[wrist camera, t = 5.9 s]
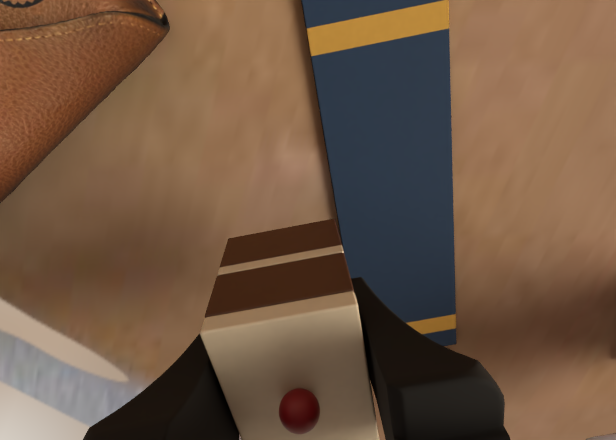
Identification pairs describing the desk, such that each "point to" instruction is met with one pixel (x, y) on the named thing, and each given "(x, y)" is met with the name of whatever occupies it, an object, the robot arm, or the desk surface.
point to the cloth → (390, 149)
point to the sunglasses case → (63, 69)
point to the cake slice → (290, 337)
